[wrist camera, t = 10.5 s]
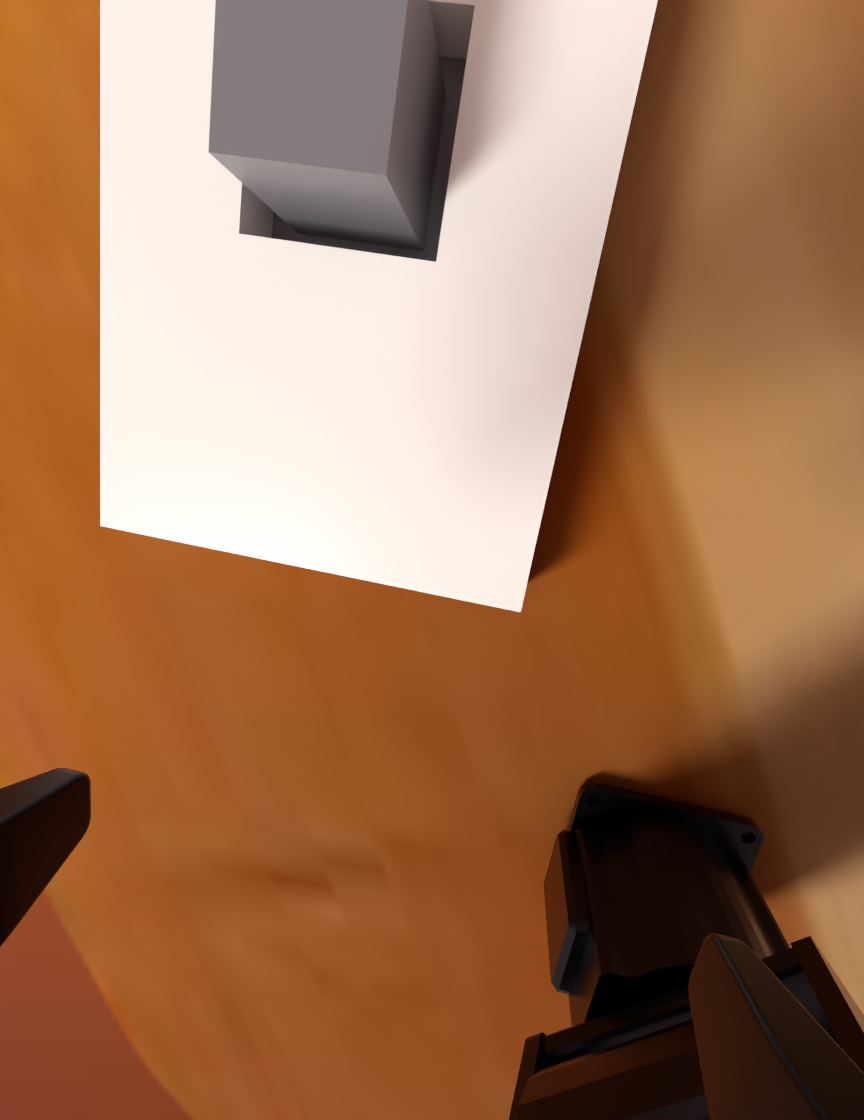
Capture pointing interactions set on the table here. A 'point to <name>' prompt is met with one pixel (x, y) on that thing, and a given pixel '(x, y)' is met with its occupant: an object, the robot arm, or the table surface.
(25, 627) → the table surface
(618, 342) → the table surface
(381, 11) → the block
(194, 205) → the socket plate
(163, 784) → the table surface
